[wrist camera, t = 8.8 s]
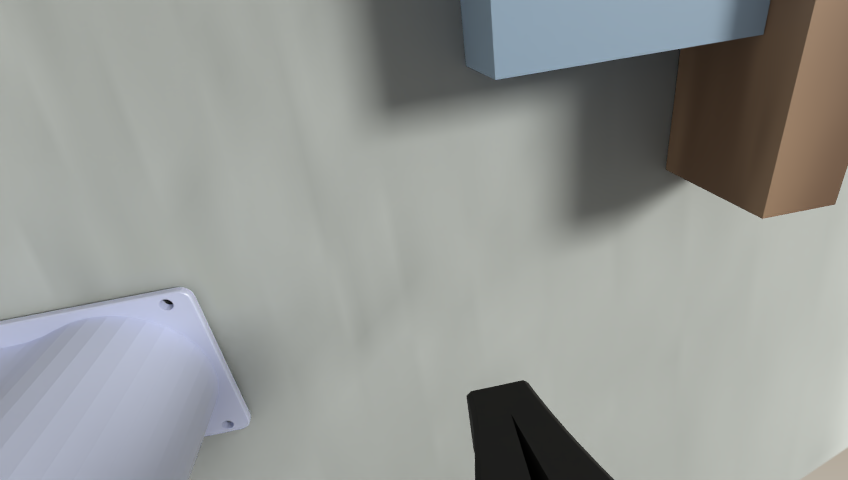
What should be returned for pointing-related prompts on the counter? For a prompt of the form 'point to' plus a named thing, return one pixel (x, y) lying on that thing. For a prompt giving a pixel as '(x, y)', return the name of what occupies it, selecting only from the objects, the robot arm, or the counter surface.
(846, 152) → the board
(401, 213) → the counter surface
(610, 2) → the block
